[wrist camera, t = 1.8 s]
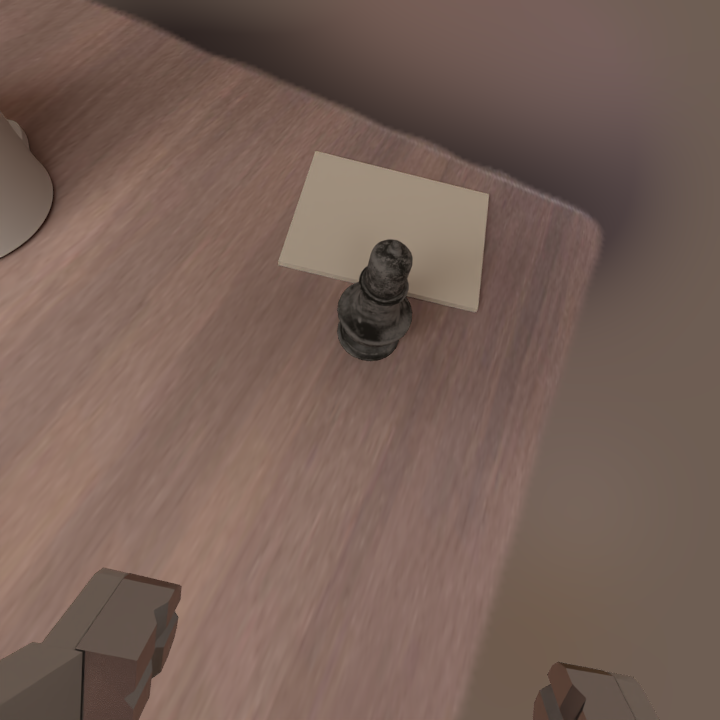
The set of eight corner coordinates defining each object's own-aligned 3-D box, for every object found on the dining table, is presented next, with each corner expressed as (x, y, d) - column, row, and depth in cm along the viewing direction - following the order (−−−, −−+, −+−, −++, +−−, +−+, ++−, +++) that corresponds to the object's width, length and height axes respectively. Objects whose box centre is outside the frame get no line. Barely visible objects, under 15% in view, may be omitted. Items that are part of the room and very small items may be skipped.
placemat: (278, 265, 41) (278, 261, 40) (315, 155, 47) (315, 150, 46) (475, 312, 42) (478, 309, 41) (486, 198, 48) (488, 194, 47)
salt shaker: (389, 297, 41) (424, 198, 30) (412, 355, 39) (458, 271, 28) (325, 309, 40) (338, 210, 29) (345, 371, 37) (366, 289, 27)
